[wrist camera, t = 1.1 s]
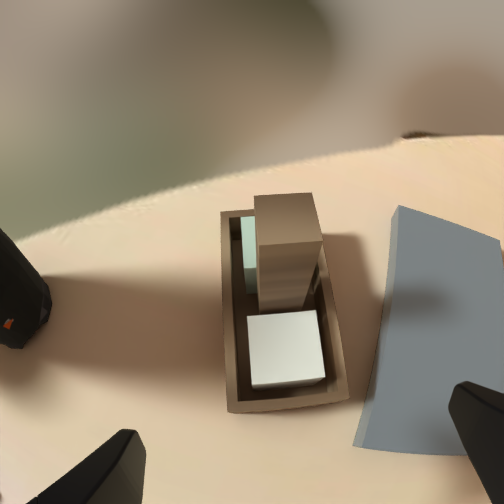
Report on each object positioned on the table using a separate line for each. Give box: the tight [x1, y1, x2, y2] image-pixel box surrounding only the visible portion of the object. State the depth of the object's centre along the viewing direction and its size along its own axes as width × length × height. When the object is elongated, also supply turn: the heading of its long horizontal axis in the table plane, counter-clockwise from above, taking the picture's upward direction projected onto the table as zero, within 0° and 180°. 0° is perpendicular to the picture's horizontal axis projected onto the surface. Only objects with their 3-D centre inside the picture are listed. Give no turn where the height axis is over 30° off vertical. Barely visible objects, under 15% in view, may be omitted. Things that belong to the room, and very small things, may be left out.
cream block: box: [247, 310, 325, 391], centre depth 18 cm, size 4×4×4 cm
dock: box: [353, 205, 504, 455], centre depth 20 cm, size 12×20×2 cm, turn 162°
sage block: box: [241, 216, 257, 294], centre depth 22 cm, size 4×4×4 cm
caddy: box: [221, 193, 350, 413], centre depth 18 cm, size 14×7×12 cm, turn 4°
